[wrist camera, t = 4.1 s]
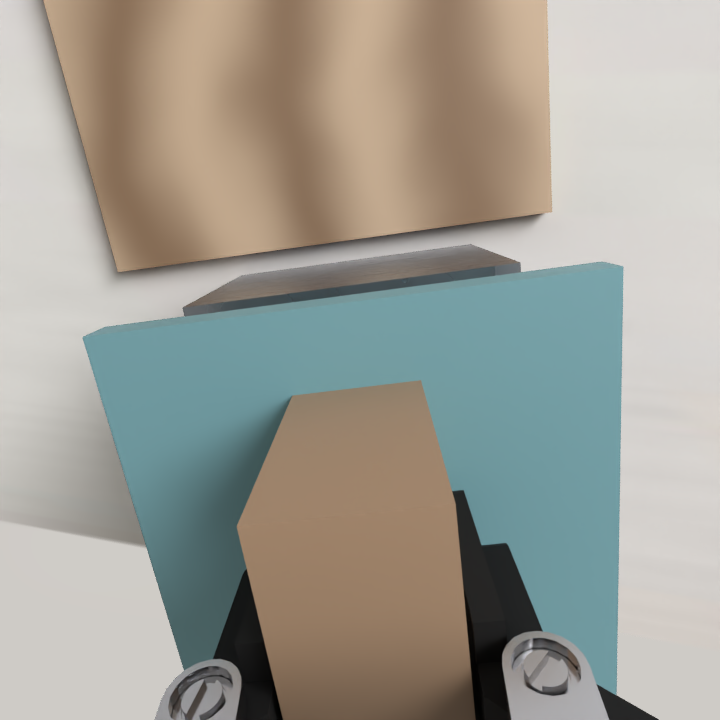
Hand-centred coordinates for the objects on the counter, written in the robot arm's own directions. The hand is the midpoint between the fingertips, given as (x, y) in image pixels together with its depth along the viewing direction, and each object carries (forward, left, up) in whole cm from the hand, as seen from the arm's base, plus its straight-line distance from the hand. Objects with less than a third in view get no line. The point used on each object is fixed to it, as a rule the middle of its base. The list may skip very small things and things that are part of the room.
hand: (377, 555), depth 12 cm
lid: (0, 0, -3) cm, 3 cm away
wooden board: (+1, -15, -14) cm, 20 cm away
